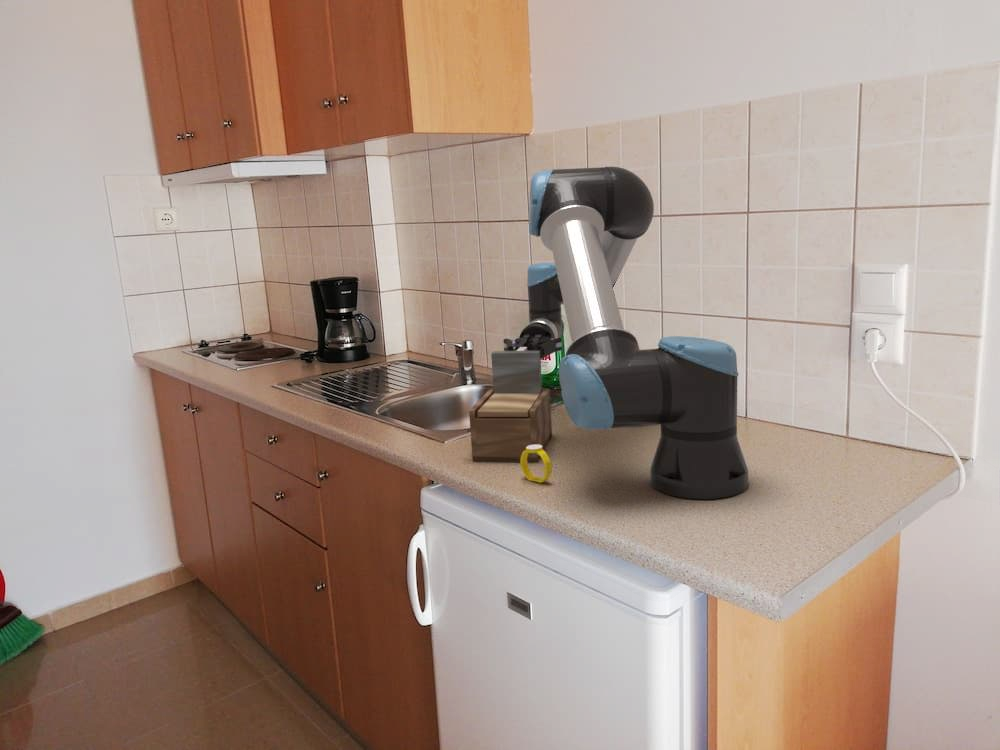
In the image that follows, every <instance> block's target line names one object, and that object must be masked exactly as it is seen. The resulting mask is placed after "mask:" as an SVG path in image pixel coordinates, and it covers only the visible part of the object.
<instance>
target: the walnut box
mask: <svg viewBox="0 0 1000 750" xmlns="http://www.w3.org/2000/svg"><path fill="white" fill-rule="evenodd" d="M550 389H551V388H544V389H542V393H541V395H540V396H539V397H538V399H537V400H536V402H535V403H534V405H533V406H532V408H531V409H530V410H529V412H530V415H529V416H528V417H478V414H477V411H478V410H479V409H480V408H481V407H482V406H483V405H484V404H485V403H486V402H487V401H488V399H489V398H490V397H491V396H492V395H493V394H494V388H489V389H488V391H487V390H486V392H485V393H484V394H483V395H482V397H481V398H479V400H478V401H477V402H475V403H474V405H473V406H472V407H470V409H469V410H468V415H469V416H468V418H469V430H470V442H471V458H472V462H473V463H474V462H475V463H477V462H480V463H521V462H520V458H521V455H522V453H523V451H525V450H526V447H527V446H529V445H535V444H538V445H542V446H543V450H544V451H545V450H546V448H547V446H548V444H549V442H550V441H551V439H552V437H553V432H552V411H551V409H552V408H551V407H552V406H551V394H550V393H551V390H550ZM540 459H541V457H540V456H539V455H538V454H537V453H528V456H527V463H529V464H530V463H533V464H534V463H535V464H537V463H539V461H540Z"/></svg>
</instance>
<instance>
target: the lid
mask: <svg viewBox="0 0 1000 750" xmlns="http://www.w3.org/2000/svg"><path fill="white" fill-rule="evenodd" d="M490 354H491V369H492V370H491V372H492V384H493V388H492V389H494V394H493V395H492V396H491V397H490V398H489V399H488V401H487V402H486V403H485V404H484V405H483V406H482V407H481V408H480V409H479V410H478V411H477V414H478V417H528V416H529V415H530V412H529V410H530V409H531V408H532V406H533V405H534V403H535V402H536V400H537V399H538V397H539V396H540V395H541V393H542V392H543V381H542V363H541V361H542V359H541V358H540V351H504V350H499V351H498V350H497V351H496V350H495V351H494V350H493V351H492V352H491V353H490Z"/></svg>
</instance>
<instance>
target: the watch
mask: <svg viewBox="0 0 1000 750" xmlns="http://www.w3.org/2000/svg"><path fill="white" fill-rule="evenodd" d="M528 453H537V454H538V455H539V456H540V459H541V461H542V463H543V465H544V475H543V477H537V476H535V475H534V474H532V472H531V471H530V468H529V465H528V462H527V456H528ZM519 463H520V468H521V471H522V473H523V476H525V478H526V479H527V480H528V481H530V482H531V481H532V482H537V483H540V484H541V483H544V482H547V481H548V480H549V478H550V477H551V476H552V472H553V470H552V469H553V468H552V462H551V459H550V457H549V455H548V454H547V452H546V451H545V450H543V446H542V445H538V444H535V445H529V446H527V447H526V450H525V451H523V453H522V455H521V458H520V462H519Z"/></svg>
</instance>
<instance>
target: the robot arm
mask: <svg viewBox="0 0 1000 750" xmlns="http://www.w3.org/2000/svg"><path fill="white" fill-rule="evenodd" d="M529 189H530V190H529V204H528V205H529V206H528V207H529V211H528V220H529V221H528V227H529V229H528V230H529V234H530V235H531V236H535V237H540V240H541V243H542V244H543V245H544V247H546V249H548V250H550V251H551V252H552V255H553V261H554V262H539V263H532V264H530V265H529V266H528V267H527V283H526V287H527V295H528V296H527V297H528V299H527V300H528V317H529V319H528V320H529V323H528V324H527V326H526V327H524V328H523V329H522V330H521V332H520V334H519V337H518V338H515V340H513V339H510V338H505V339H503V351H540V358H541V360H542V359H543V358H546V357H548V356H550V355H552V354H554V353H555V352H559V351H562V350H563V345H562V344H563V343H562V342H563V341H562V337H563V334H564V331H565V323H564V321H563V318H562V304H563V306H564V310H565V316H566V320H567V324H568V329H569V330H568V331H569V334H570V335H569V336H570V339H571V343H570V344H569V345H568V347H567V350H566V352H565V356H563V357H562V358H561V360H560V362H559V366H558V367H559V368H558V379H559V384H560V387H561V390H560V391H561V395H562V396H561V397H562V401H563V404H564V407H565V410H566V413H567V415H568V416H569V419H570V420H571V421H572V423H573V424H574V425H575V426H576V427H578V428H580V429H581V430H601V431H607V430H610V429H616V428H617V429H618V428H628V427H639V426H650V425H660V437H659V441H658V444H657V446H656V450H655V454H654V456H653V459H652V462H651V466H650V471H649V472H650V484H651V486H652V487H653V488H654V489H656V491H659V492H661V493H663V494H665V495H669V496H673V497H677V498H684V499H691V500H713V499H714V500H717V499H723V498H729V497H731V496H735V495H738V494H741V493H742V492H744V491H746V490H747V488H748V487H749V468H748V466H747V463H746V459H745V457H744V454H743V451H742V448H741V445H740V442H739V439H738V428H737V427H738V377H739V372H738V364H737V363H738V362H737V361H738V360H737V353H736V350H735V349H734V348H733V346H731V345H730V344H729V343H728V344H727V343H726V342H722V341H719V340H715V339H708V338H704V337H694V336H682V335H681V336H677V335H676V336H675V335H674V336H672V335H671V336H664V337H661V338H660V339H659V341H658V344H657V347H658V348H649V349H640V346H639V343H638V339H637V338H636V336H635V335H634V334H633V333H632V332H630V331H629V330H626V329H625V328H624V325H623V321H622V317H621V314H620V310H619V306H618V302H617V299H616V298H615V294H614V291H613V287H614V285H615V283H616V281H617V279H618V277H619V275H620V273H621V271H622V272H623V269H624V267H625V265H626V263H627V261H628V259H629V257H630V255H631V252H632V251H633V248H634V246H635V244H636V242H637V240H638V239H639V238H641V237H642V236H643V235H645V234H646V232H647V231H648V229H649V227H650V225H651V223H652V220H653V217H654V213H655V212H654V211H655V205H654V200H653V196H652V193H651V191H650V189H649V187H648V185H646V183H645V182H644V180H642V178H640V177H639V176H638V175H637V174H635V173H634V172H632V171H630V170H628V169H626V168H622V167H619V166H605V167H603V166H601V167H582V168H579V167H578V168H562V169H560V168H558V169H555V168H551V169H550V170H541V171H537V172H536V173H534V174H533V175H532V178H531V180H530V188H529Z"/></svg>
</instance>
